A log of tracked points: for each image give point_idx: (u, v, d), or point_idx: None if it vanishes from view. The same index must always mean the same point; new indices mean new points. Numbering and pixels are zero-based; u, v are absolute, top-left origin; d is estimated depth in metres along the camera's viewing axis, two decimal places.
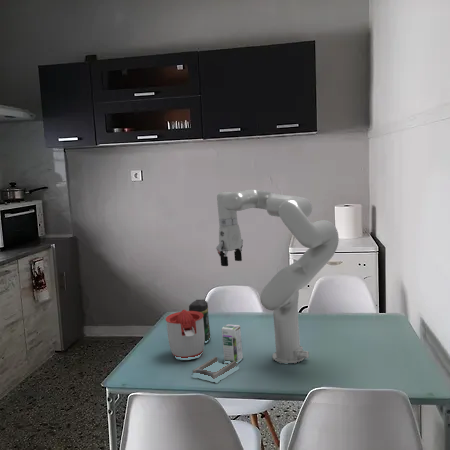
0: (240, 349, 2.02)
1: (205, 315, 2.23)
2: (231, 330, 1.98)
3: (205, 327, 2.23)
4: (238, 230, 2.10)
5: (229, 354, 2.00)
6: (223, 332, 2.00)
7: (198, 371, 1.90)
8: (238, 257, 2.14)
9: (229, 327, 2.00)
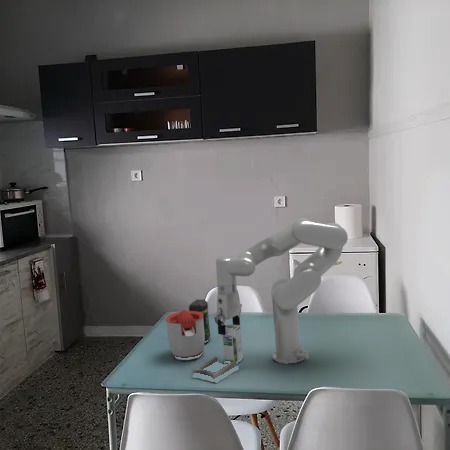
0: (240, 349, 2.02)
1: (205, 315, 2.23)
2: (231, 330, 1.98)
3: (205, 327, 2.23)
4: (237, 296, 2.00)
5: (229, 354, 2.00)
6: None
7: (198, 371, 1.90)
8: (236, 323, 2.04)
9: (229, 327, 2.00)
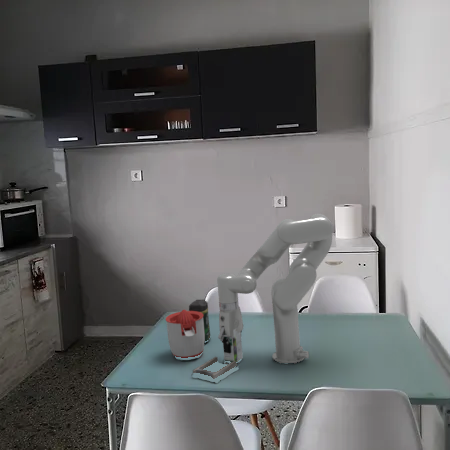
0: (240, 349, 2.02)
1: (205, 315, 2.23)
2: None
3: (205, 327, 2.23)
4: (239, 313, 2.01)
5: (229, 354, 2.00)
6: None
7: (198, 371, 1.90)
8: None
9: None
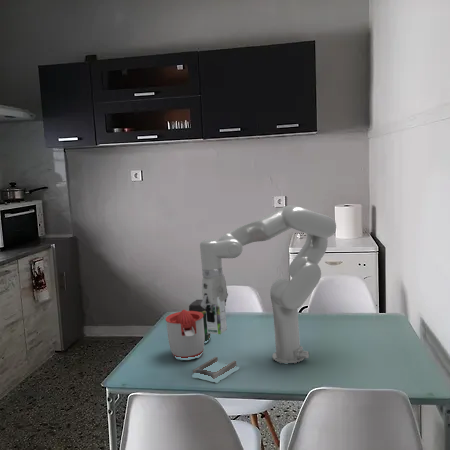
0: (224, 319, 1.93)
1: (205, 315, 2.23)
2: None
3: (205, 327, 2.23)
4: (223, 281, 1.92)
5: (212, 323, 1.91)
6: None
7: (198, 371, 1.90)
8: None
9: None
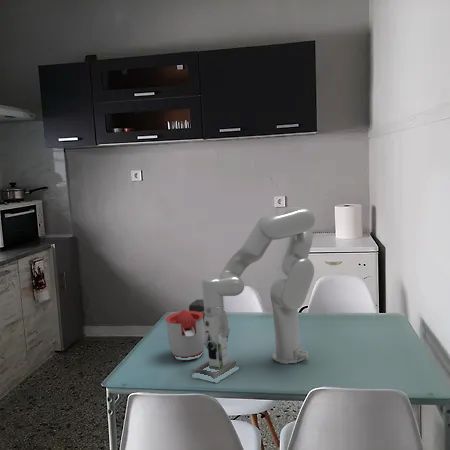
0: (226, 355, 1.94)
1: None
2: None
3: None
4: (225, 318, 1.93)
5: (214, 360, 1.92)
6: None
7: (198, 371, 1.90)
8: None
9: None
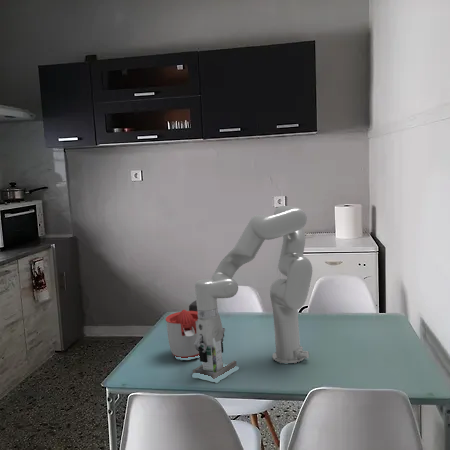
0: (220, 359, 1.91)
1: None
2: None
3: None
4: (219, 321, 1.90)
5: (208, 364, 1.89)
6: None
7: (198, 371, 1.90)
8: None
9: None
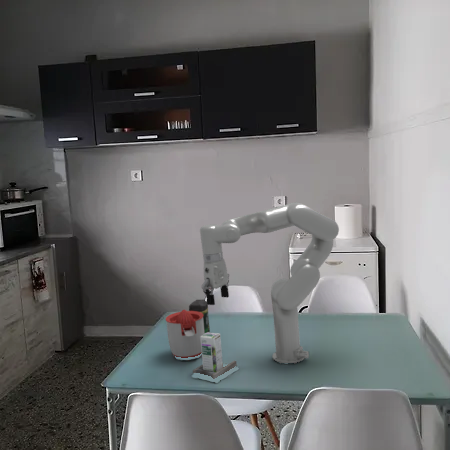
0: (220, 359, 1.91)
1: (205, 315, 2.23)
2: (210, 339, 1.87)
3: (205, 327, 2.23)
4: (224, 265, 1.96)
5: (208, 364, 1.89)
6: (201, 341, 1.89)
7: (198, 371, 1.90)
8: (225, 293, 2.00)
9: (208, 335, 1.89)
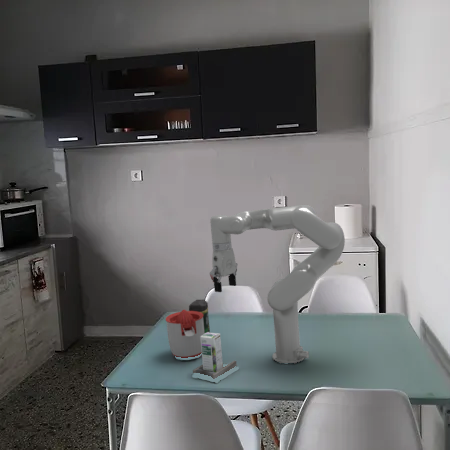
0: (220, 359, 1.91)
1: (205, 315, 2.23)
2: (210, 339, 1.87)
3: (205, 327, 2.23)
4: (232, 254, 2.03)
5: (208, 364, 1.89)
6: (201, 341, 1.89)
7: (198, 371, 1.90)
8: (232, 281, 2.07)
9: (208, 335, 1.89)
